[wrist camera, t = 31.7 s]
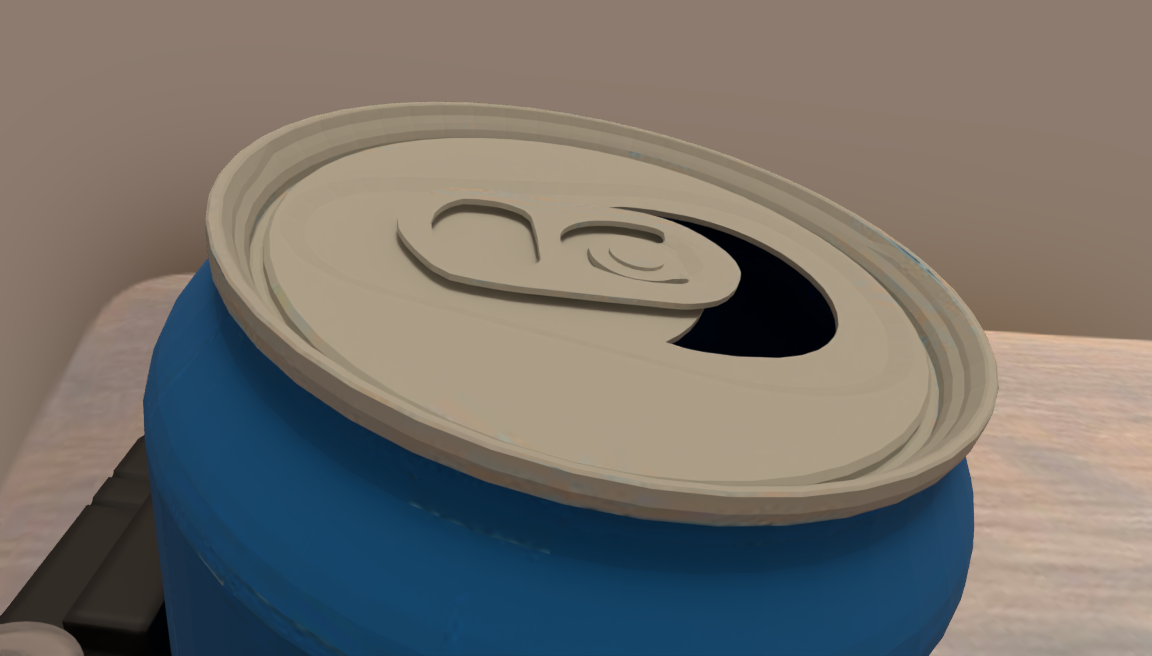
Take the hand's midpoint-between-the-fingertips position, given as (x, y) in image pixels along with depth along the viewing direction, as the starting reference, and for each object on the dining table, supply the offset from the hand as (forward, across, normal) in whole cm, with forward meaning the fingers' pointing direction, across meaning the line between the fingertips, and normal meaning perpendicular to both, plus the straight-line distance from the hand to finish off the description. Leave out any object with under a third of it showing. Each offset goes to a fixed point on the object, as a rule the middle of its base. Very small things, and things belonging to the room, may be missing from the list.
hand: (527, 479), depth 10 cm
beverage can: (-2, 0, -7) cm, 8 cm away
